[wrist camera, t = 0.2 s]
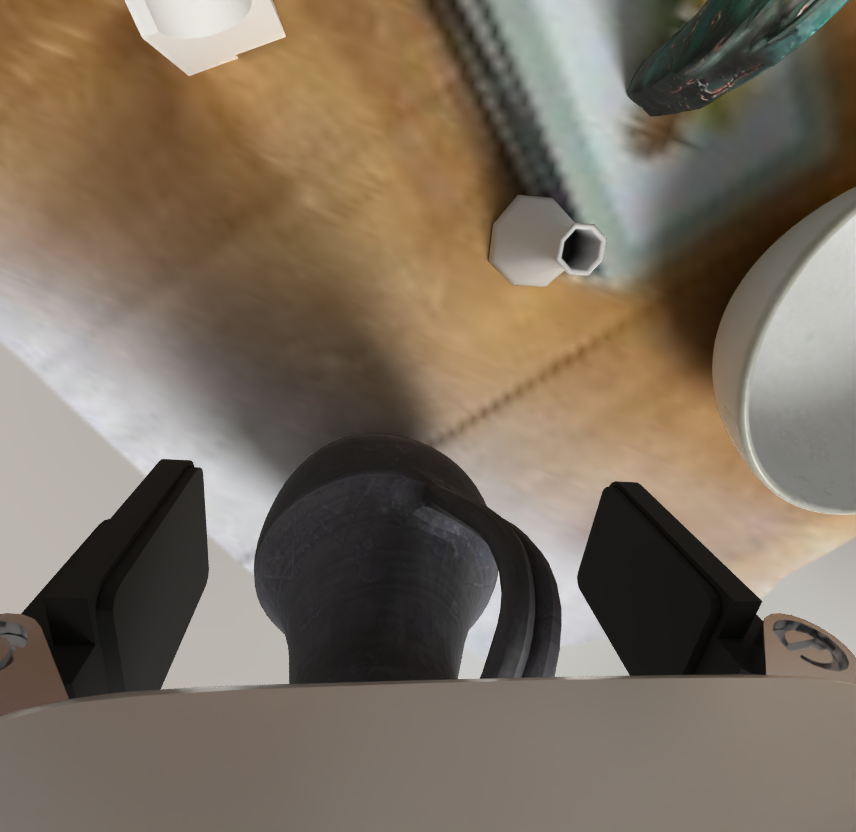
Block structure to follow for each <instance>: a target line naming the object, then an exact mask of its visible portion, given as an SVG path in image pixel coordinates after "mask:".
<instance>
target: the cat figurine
mask: <svg viewBox="0 0 856 832" xmlns="http://www.w3.org/2000/svg"><path fill="white" fill-rule="evenodd" d="M848 1H849V0H708V1H707V2H706V3H705V4H704V5H703V7H702V8H701V9H700V10H699V12H698V13H697V14H696V15H695V16H694V17H693V18H692V19H691V20H690V22H689V23H687V24H686V25H685V26H684V27H683V28H682V29H681V30H679V31H678V32H677V33H675V34H674V35H673V36H672V37H671V38H670V39H669V40H668V41H667V42H666V43H664V44H663V45H662V46H661V47H660V48H658V49H657V50H656V51H654V52H653V53H652V55H651V56H650V57H649V58H648V59H647V60H645V61H644V63H643V64H642V66H641V67H640V68H639V70H638V71H637V72H636V74H635V76H634V78H633V79H632V82H631V84H630V87H629V90H628V96H629V98H630V99H631V100H632V101H633V102H635V103H636V104H637V105H639V106H641V107H642V108H643V109H644V110H645V111H646V112H647V113H648V114H649V115H650V116H660V115H668V114H675V113H680V112H683V111H690V110H695V109H700V108H702V107H704V106H706V105H708V104H710V103H711V102H713V101H714V100H716V99H717V98H719V97H720V96H722V95H723V94H725V93H727V92H729V91H731V90H733V89H735V88H737V87H739V86H740V85H742V84H744V83H746V82H748V81H749V80H751V79H753V78H754V77H756V76H757V75H759V74H761V73H762V72H764V71H765V70H767V69H769V68H770V67H772V66H774V65H775V64H777V63H778V62H780V61H781V60H782V59H783V58H784V57H786V56H787V55H788V54H789V53H791V52H792V51H793V50H794V49H796V48H797V47H798V46H799V45H801V44H802V43H803V42H805V41H806V40H807V39H808V38H809V37H810V36H812V35H813V34H814V33H815V32H816V31H818V30H819V29H820V28H821V27H822V26H823V25H824V24H825V23H826V22H827V21H828V20H830V19H831V18H832V17H833V16H834V15H835V14H836V13H837V12H838V11H839V10H840V9H841V8H842V7H843V6H844V5H845V4H846V3H847V2H848Z"/></svg>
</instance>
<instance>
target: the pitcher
mask: <svg viewBox="0 0 856 832" xmlns="http://www.w3.org/2000/svg"><path fill="white" fill-rule="evenodd" d="M498 570H499V575H500V584H501V592H502V595H501V609H500V614H499V619H498V624H497V627H496V631H495V634H494V637H493V641H492V644H491V647H490V650H489V654H488V657H487V660H486V663H485V666H484V669H483V672H482V675H481V677H480V679H493V678H538V677H555V671H556V666H557V660H558V655H559V650H560V635H561V604H560V599H559V593H558V588H557V583H556V580H555V578H554V575H553V573H552V570H551V568H550V565H549V563H548V562H547V560H546V559H545V557H544V555H543V554H542V552H541V551H540V550H539V549H538V548H537V547H536V546H535V544H534V543H533V542H532V541H531V540H530V539H529V537H528V536H527V535H526V534H524V533H523V532H522V531H521V530H520V529H519V528H518V527H516V526H515V525H513V524H512V523H510V522H508V521H507V520H505V519H503V518H501V517H500V516H499V515H498V514H496V513H495V512H494V511H492V510H491V509H490V508H488V507H487V506H486V503H485V501H484V499H483V497H482V496H481V494H480V492H479V491H478V489H477V487H476V486H475V484H474V483H473V482H472V480H471V479H470V478H469V477H468V475H467V474H466V473H465V472H464V471H463V470H462V469H461V468H460V467H459V466H458V465H457V464H456V463H455V462H453V461H452V460H451V459H450V458H448V457H447V456H445V455H444V454H442V453H441V452H439V451H437V450H436V449H434V448H432V447H430V446H428V445H426V444H423V443H421V442H419V441H415V440H412V439H408V438H404V437H399V436H394V435H388V434H380V433H376V434H366V435H358V436H351V437H348V438H344V439H341V440H338V441H335V442H333V443H330V444H328V445H326V446H325V447H323V448H321V449H320V450H318V451H317V452H315V453H314V454H313V455H311V456H310V457H309V458H308V459H307V460H305V461H304V462H303V463H302V464H301V465H300V466H299V467H298V468H297V469H296V470H295V472H294V473H293V474H292V475H291V476H290V478H289V479H288V480H287V481H286V483H285V484H284V486H283V487H282V489H281V490H280V492H279V493H278V495H277V497H276V499H275V501H274V503H273V504H272V507H271V509H270V511H269V513H268V515H267V517H266V520H265V522H264V525H263V528H262V531H261V534H260V537H259V540H258V544H257V549H256V554H255V561H254V577H255V588H256V592H257V597H258V599H259V602H260V604H261V606H262V608H263V610H264V611H265V613H266V615H267V616H268V617H269V618H270V619H271V621H272V622H273V623H274V624H275V625H276V626H277V627H278V628H279V629H280V630H281V631H282V632H283V633H284V634H285V636H286V640H287V644H288V649H289V683H290V684H308V683H342V682H376V681H410V680H451V679H458V674H459V669H460V664H461V659H462V653H463V648H464V643H465V640H466V637H467V634H468V631H469V629H470V628H471V627H472V626H473V625H474V624H475V622H476V621H477V620H478V618H479V617H480V616H481V614H482V613H483V611H484V609H485V608H486V606H487V604H488V602H489V600H490V598H491V595H492V593H493V590H494V588H495V584H496V581H497V576H498Z"/></svg>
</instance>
